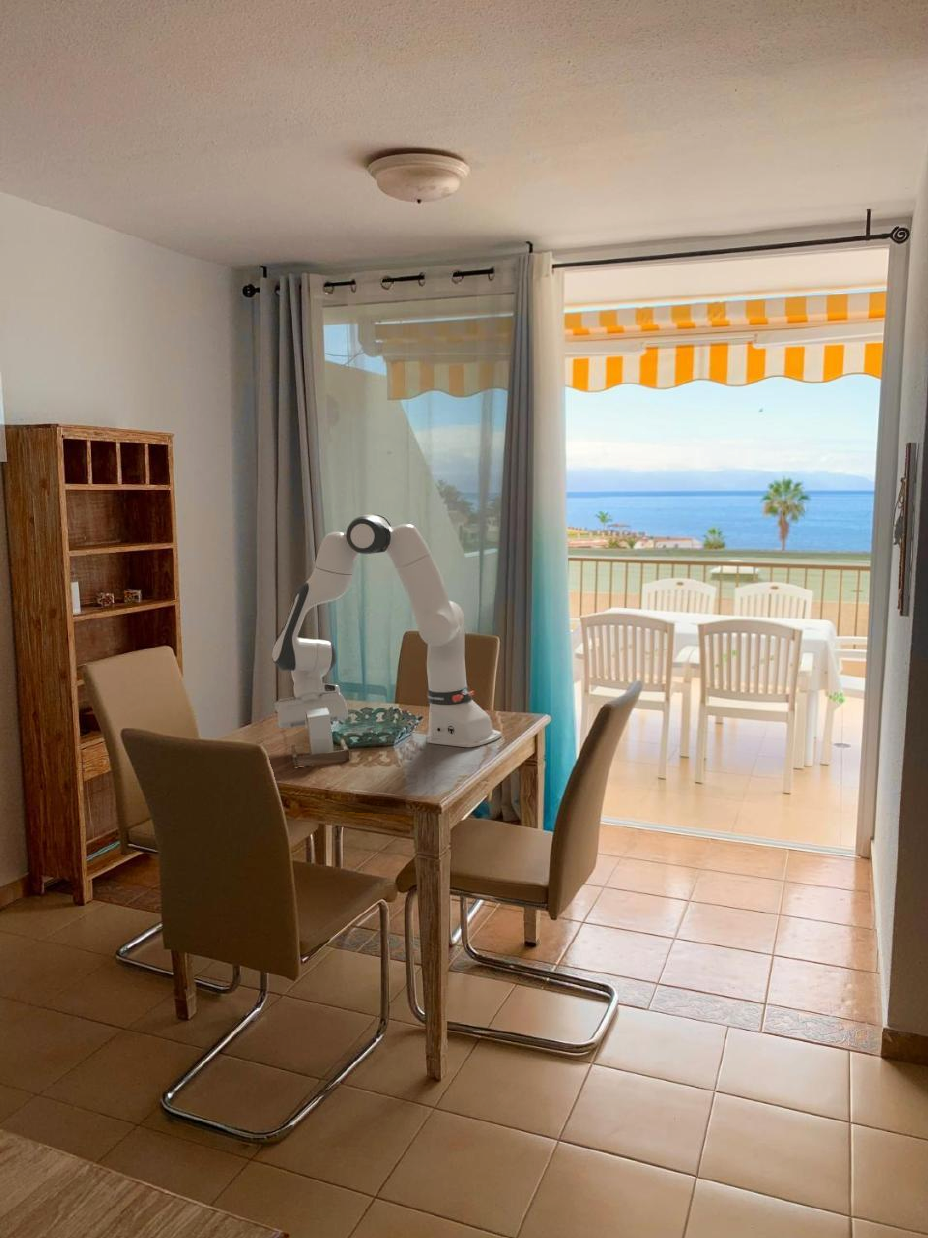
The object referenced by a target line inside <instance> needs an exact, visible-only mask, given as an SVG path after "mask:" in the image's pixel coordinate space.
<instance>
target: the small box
mask: <svg viewBox="0 0 928 1238" xmlns="http://www.w3.org/2000/svg"><path fill="white" fill-rule="evenodd" d="M305 712H306V720H307V728H308V730H307V736H308V745H309V752H310V754H309V755H312V754H318V753H325V752H332V751H335V750H334V741H333V732H332V725H331V723H332V722H330V715H329V711H328V709H327V708H320V709H313V710H306V711H305Z"/></svg>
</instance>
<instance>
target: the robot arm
mask: <svg viewBox="0 0 928 1238" xmlns="http://www.w3.org/2000/svg"><path fill="white" fill-rule="evenodd" d="M379 553H386V554H387V555H388V556H389V557H390V559H391V561H392V563H393V565H394V567H395V570H396V571H397V574H398V576H399V579H400V581H401V584H402V585H403V587H404V589H405V591H406V593H407V594H406V595H407V596H408V600H409V602H410V606H411V611H412V614H413V616H414V620H415V623H416V625H417V629H418V633H419V637H420V638H421V639H422V641H423V642H425V644H427V653H426V655H427V657H426V673H427V682H428V689H427V698H428V699H427V701H428V703H429V713H428V732H427V739H426V740H427V741H426V742H427V743H428V744H437V745H442V746H443V745H445V746H453V747H461V748H462V747H463V748H473V747H478V746H483V745H486V744H489V743H491V742H494V741H496V740H497V739H499V738H500V737H501V736H502V732H501V731H498V730H495V729H494V728H493V724H492V720H491V717H490V715H489V714H488V713H487V712H486V711H484V710H483V708H481V706H479V704H477V703H476V702H475V701H474V700H473V695H475V693H474V692H475V690H470V688H469V686H468V685H467V677H466V676H467V675H466V674H467V673H466V661H465V654H466V653H465V648H466V647H465V643H466V642H465V640H466V639H465V637H466V636H465V630H466V629H465V613H464V611H463V609H462V608H461V606H460V604H458V603H456V602H454V601H452V600H449V598H448V597H449V596H448V594H447V590H446V588H445V587H446V586H445V584H444V578H443V576H442V574H441V571H440V569H439V567H438V565H437V562H436V561H435V558H434V556H433V554H432V551H431V550H430V547H429V546H428V544H427V542H426V541H425V539H424V537H423V535H422V534H421V533H420V531H419V530H418V528H417V527H416V526H415V525H413V524H410V523H402V524H399V525H396V526H392V525H391V523H390V522H389V521H388V519H386V518H385V517H384V516H382V515H380V514H369V513H368V514H364V515H361V516H358V517H356V518H354V519H353V520H352V521H350V523H349V525H348V526H347V530H346V532H345V531H344V532H343V531H331V532H329V533H326V535H325V536H324V537H323V540H322V542H321V543H320V547H319V550H318V552H317V555H316V559H315V564H314V568H313V571H312V573H311V575H310V577H309V579H308V580H307V581H306V582H304V583H301V584H300V585H299V587H298V588H297V591H296V592H295V595H294V597H293V600H292V602H291V603H290V606H289V610H288V612H287V615H286V618H285V620H284V622H283V625H282V628H281V631H280V633H279V635H278V636H277V639H276V641H275V643H274V645H273V648H272V652H271V660H272V662H273V663H274V664H275V666H276V667H277V668H278V669H279V670H280V671H282V672H291V673H290V674H291V678H292V680H293V687H292V688H293V694H294V696H292V697H286V698H279V700H276V702H275V703H274V708H275V709H274V710H275V711H276V712H277V721H278V723H277V724H278V727H279V728H280V729H281V730H282V729H283V730H284V729H291V728H297V727H298V728H299V727H305V729H306V731H308V728H307V720H306V712H305V711H306V710H313V709H320V708H327V709H328V711H329V715H330V723H333V722H339V721H346V720H347V719H348V718H349V709H348V705H347V703H346V699H345V697H344V695H343V694H342V693H341V690H340V686H339V685H337V684H331V683H326V682H325V683H324V682H323V677H325V676H327V675H328V674H329V673H330V672H331V671H332V670H333V669H334V668H335V666H336V664H337V650H336V649H335V646H334V645H333V643H332V642H331V641H330V640H325V639H317V638H305V637H298V636H299V632H300V631H301V627H302V625H303V622H304V619H305V617H306V614H307V613H308V611H309V610H311V609H312V608H314V607H316V606H318V605H321V604H325V603H329V602H332V601H333V602H334V601H336V600H338V599H339V598H341V597H343V596H344V595H345V594H346V593H347V592H348V591H349V589H350V586H351V583H352V577H353V575H354V574H353V573H354V568H355V564H356V560H357V558H358V557H359V555H374V554H379Z"/></svg>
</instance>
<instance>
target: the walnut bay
mask: <svg viewBox="0 0 928 1238" xmlns="http://www.w3.org/2000/svg"><path fill="white" fill-rule="evenodd" d="M339 741H340V750H334V751H332V752H325V753H318V754H312V755H311V754H306V755H300V756H298V755H297V750H296V745H295V744H294V745H290V749H291V758H292V757H293V758H292V761H293V766H295V767H299V766H310V767H313V766H312V765H317V766H323V765H329V764H336V763H341V762H346V761H350V754H349V749H348V745H347V744H346V741H345V739H344V738H343V737H342V738H339ZM295 767H294V768H295Z"/></svg>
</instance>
